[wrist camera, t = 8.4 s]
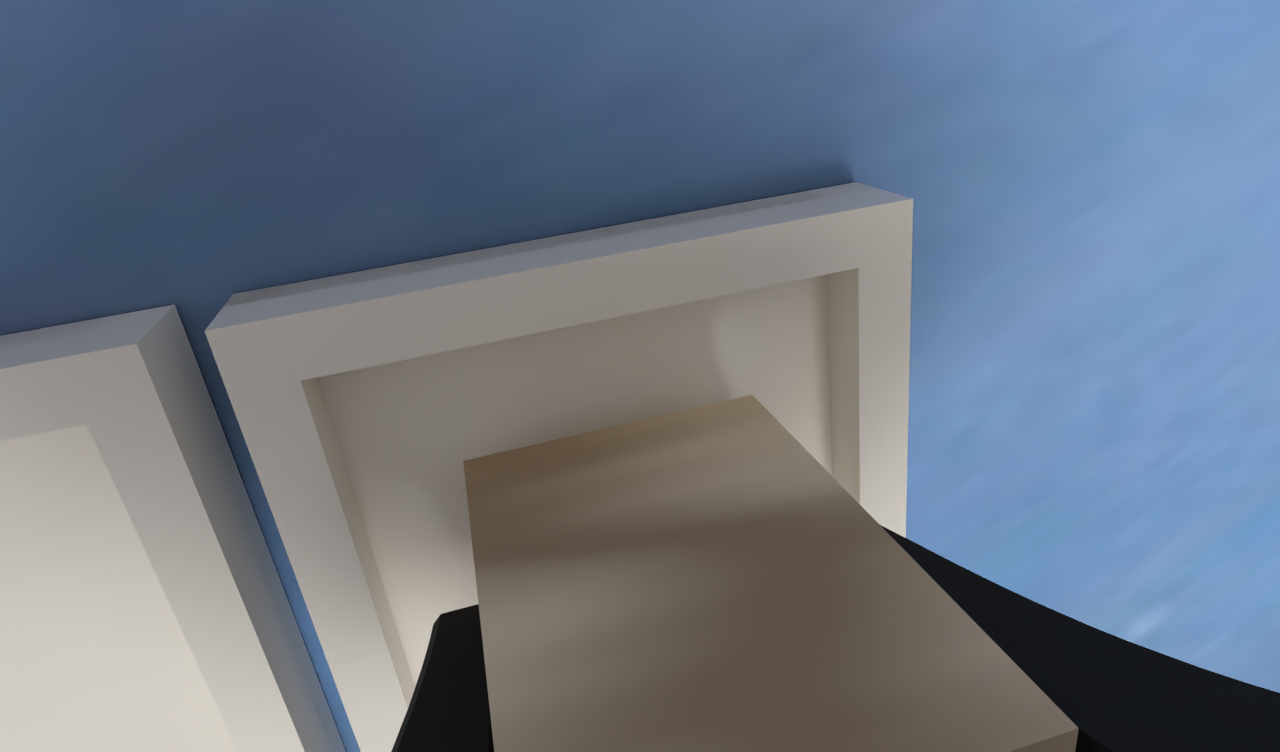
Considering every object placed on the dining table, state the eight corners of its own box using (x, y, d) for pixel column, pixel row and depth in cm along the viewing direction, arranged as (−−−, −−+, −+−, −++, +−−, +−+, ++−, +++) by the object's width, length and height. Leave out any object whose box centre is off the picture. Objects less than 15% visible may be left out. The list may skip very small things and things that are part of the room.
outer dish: (400, 773, 14) (398, 852, 12) (233, 293, 10) (204, 331, 9) (859, 636, 15) (901, 692, 14) (856, 182, 12) (912, 198, 10)
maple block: (519, 690, 12) (604, 1226, 6) (463, 460, 10) (512, 920, 5) (768, 619, 12) (1031, 1047, 7) (752, 394, 11) (1078, 727, 5)
